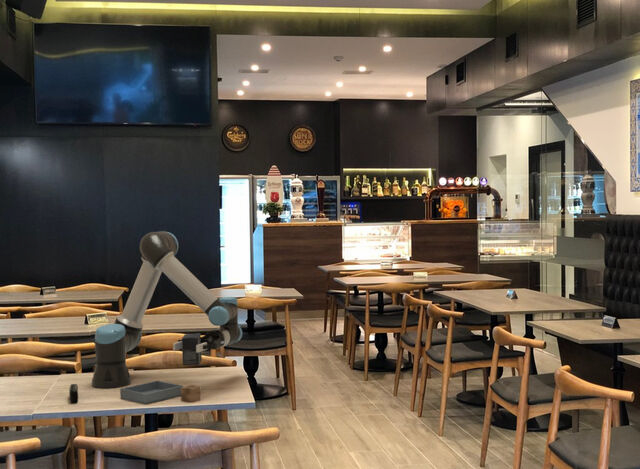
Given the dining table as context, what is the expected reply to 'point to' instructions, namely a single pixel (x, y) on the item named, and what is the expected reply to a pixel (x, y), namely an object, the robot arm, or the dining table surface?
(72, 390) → the mobile phone
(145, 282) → the robot arm
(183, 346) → the small box
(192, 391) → the walnut cube
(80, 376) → the dining table surface
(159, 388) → the tray
